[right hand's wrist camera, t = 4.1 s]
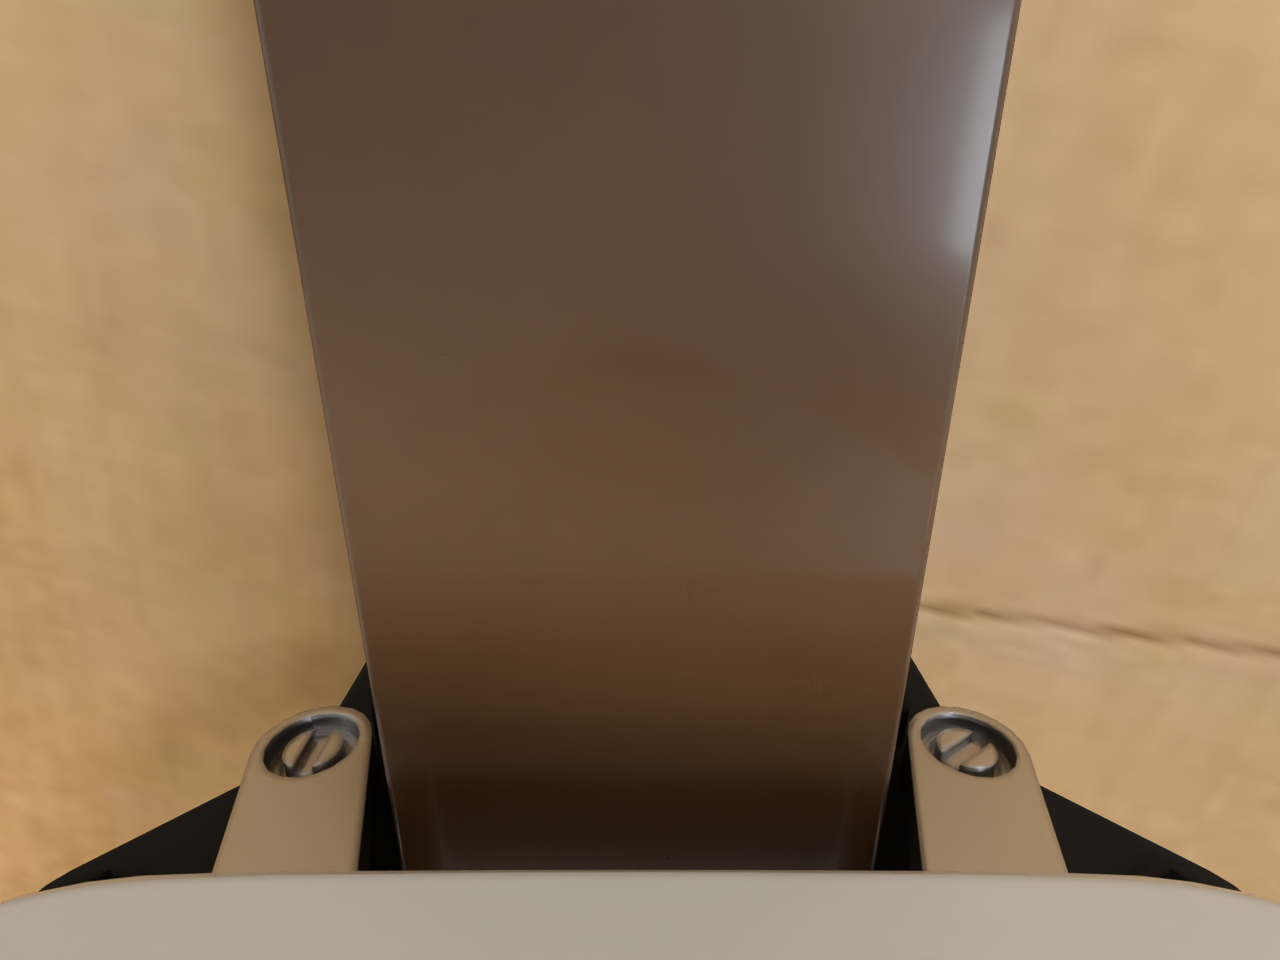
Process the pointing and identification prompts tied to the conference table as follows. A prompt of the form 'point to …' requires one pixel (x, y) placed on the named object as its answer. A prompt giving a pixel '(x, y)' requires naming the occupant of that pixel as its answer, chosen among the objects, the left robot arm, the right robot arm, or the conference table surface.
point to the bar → (637, 400)
